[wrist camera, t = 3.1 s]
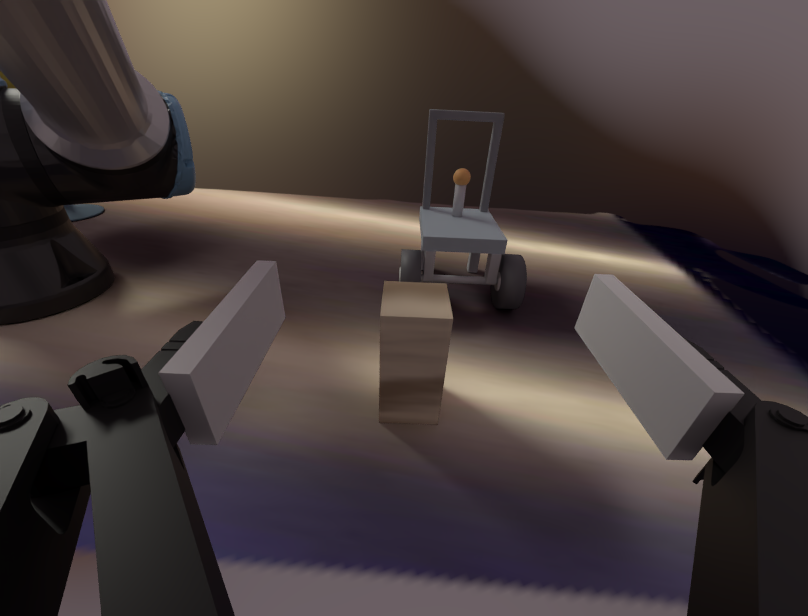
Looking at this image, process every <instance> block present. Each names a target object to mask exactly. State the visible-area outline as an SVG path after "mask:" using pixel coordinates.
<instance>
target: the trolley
mask: <svg viewBox="0 0 808 616" xmlns="http://www.w3.org/2000/svg"><path fill="white" fill-rule="evenodd" d="M437 119H445V120H463V121H482V122H483V121H484V122H494V123H493V129H492V135H491V141H490V147H489V153H488V160H487V166H486V172H485V178H484V184H483V190H482V196H481V202H480V208H479V209H463V205H464V198H465V190H466V184H468V182H469V181H470V173H469V171H468V170H466V169H464V168H461V169H458V170H457V171H456V172H455V174H454V177H453V179H454V182H455V183H456V186H455V194H454V202H453V208H441V207H430V197H431V186H432V174H433V162H434V151H435V138H436V127H437ZM503 121H504V113H492V112H491V113H490V112H473V111H454V110H453V111H452V110H435V109H430V112H429V124H428V138H427V151H426V166H425V179H424V193H423V206H422V207H420V218H419V219H420V230H421V250H403V249H402V253H401V268H400V273H399V282H419V283H421V282H436V283H459V284H482V285H491V298H492V303H493V305H494V307H495V308H499V309H517V308H519V307H520V305H521V303H522V301H523V298H524V295H525V290H526V280H527V273H526V265H525V261H524V259H523V257H522V256H521V255H513V254H505V249H506V245H507V239H506V237H505V236H504V234H503V233H502V231H501V229H500V228H499V226H498V225H497V223H496V222H495V220H494V219H493V217H492V215H491V214H490V212H489V211H488V206H489V200H490V194H491V188H492V183H493V177H494V171H495V166H496V160H497V155H498V149H499V143H500V137H501V132H502V126H503ZM436 251H444V252H466V253H469V258H468V264H467V270H468V272H474V273H477V270H478V264H479V258H480V253H488V258H487V264H486V269H485V274H484V277H477V276H454V275H433V274H434V264H435V254H436ZM421 270H423V274H421Z"/></svg>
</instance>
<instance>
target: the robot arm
mask: <svg viewBox="0 0 808 616" xmlns="http://www.w3.org/2000/svg"><path fill="white" fill-rule="evenodd" d="M0 71H1V72H2V73H3V74H4V75H5V76H6V77H7V79H8V80H9V81H10V82H11V83H12V84H13V85H14V86H15V87H16V88H7V87H8V86H7V83H6V81H4V80H3V79H2V78H1V77H0V324H9V323H16V322H22V321H27V320H32V319H37V318H41V317H45V316H48V315H52V314H55V313H58V312H61V311H64V310H67V309H70V308H73V307H75V306H78V305H80V304H82V303H84V302H87V301H89V300H91V299H92V298H94V297H96V296H98V295H99V294H101V293H102V292H104V291H105V290H106V289H107V288H109V287H110V285H111V284H112V283H113V281H114V278H115V276H114V273H113V271H112V269H111V266H110V264H109V262H108V260H107V259H106V258H105V257H104V256H103V255H102V254H101V253H100V252H99V251H98V250H97V249H96V247H95V246H94V245H93V244H92V243H91V242H90V241H89V240H88V239H87V238H86V237H85V236H84V235H83V234H82V233H81V232H80V231H79V230H78V229H77V228H76V227H75V226H74V225H73V223H72V222H71V220H70V218H69V216H68V214H67V212H66V210H65V208H64V206H63V205H73V204H74V205H75V204H84V203H97V202H110V201H123V200H136V199H149V198H163V199H168V198H171V197H173V196H180V195H186V194H189V193H191V192H192V191H193V190H194V188H195V182H196V177H195V167H194V162H193V155H192V147H191V142H190V137H189V133H188V129H187V125H186V121H185V117H184V114H183V111H182V108H181V106H180V104H179V102H178V100H177V99H176V98H175V97H174V96H173V95H171V94H168V93H163V92H161V91H157V90H156V89H155V87H154V86H153V85H152V84H151V83H150V82H149V81H148V80H147V79H146V78H145V77H143V76H142V75H141V74H140V73H138V72H137V71H135V70H134V67H133V65H132V63H131V60H130V58H129V55H128V53H127V50H126V48H125V45H124V43H123V40H122V38H121V35H120V33H119V31H118V28H117V26H116V23H115V21H114V18H113V16H112V13H111V11H110V9H109V6H108V3H107V1H106V0H0ZM284 319H285V311H284V305H283V299H282V294H281V288H280V282H279V276H278V270H277V264H276V261H256V262H255V263H254V265H253V266H252V267H251V268H250V269H249V270H248V271H247V273H246V274H245V275H244V276H243V277H242V278H241V279H240V281H239V282H238V283H237V284H236V285H235V286H234V287H233V289H232V290H231V291H230V292H229V293H228V294H227V295H226V297H225V298H224V299H223V300H222V301H221V302H220V303H219V304H218V306H217V307H216V308H215V309H214V310H213V311H212V312H211V314H210V315H209V316H208V317H207V318H206V319H205V320H204V321H193V322H191V323H190V324H188V325H186V326H185V327H183V328H181V329H180V330H178V332H177V333H176V334H175V335H174V336H173V337H172V338H171V339H170V340H169V342H167V343H166V344H165V345H164V346H163V347H162V348H161V351H159V352H158V353H157V354H156V355H155V356H154V357H153V358H152V359H151V360H150V361H149V362H148V363H147V364H146V365H145V366H144V367H143V368H142V369H141V368H140V366H139V364H138V362H137V361H136V360H135V359H134V357H130V356H127V355H116V356H110V357H106V358H102V359H99V360H97V361H94V362H92V363H89V364H87V365H86V366H84V367H83V368H81V369H79V370H78V371H77V372H76V373H75V374H74V375H73V376H72V377H71V378H70V380H69V383H68V387H69V388H70V390H71V391H72V393H73V394H74V396H75V398H76V399H77V401H78V402H79V404H80V405H78V406H73V407H68V408H63V409H57V410H53V409H52V407H51V406H50V405H49V403H48V402H47V401H46V400H45V399H43V398H37V397H32V398H24V399H19V400H16V401H13V402H10V403H7V404H4V405H2V406H0V616H58V612H59V608H60V605H61V601H62V597H63V593H64V590H65V586H66V582H67V578H68V575H69V571H70V567H71V564H72V560H73V556H74V552H75V549H76V545H77V541H78V537H79V534H80V530H81V526H82V522H83V519H84V515H85V511H86V508H87V504H88V500H89V496H90V493H91V499H92V510H93V522H94V534H95V545H96V557H97V569H98V581H99V592H100V604H101V616H235V615H234V612H233V609H232V606H231V603H230V600H229V597H228V594H227V591H226V588H225V585H224V582H223V578H222V576H221V572H220V569H219V566H218V563H217V560H216V557H215V554H214V551H213V548H212V545H211V542H210V539H209V536H208V533H207V530H206V527H205V524H204V521H203V518H202V515H201V512H200V509H199V506H198V503H197V500H196V497H195V494H194V491H193V488H192V485H191V482H190V479H189V476H188V473H187V470H186V467H185V464H184V461H183V458H182V455H181V452H180V449H179V447H178V445H177V442H178V440H179V439H180V437H181V436H182V434H183V433H184V431H185V433H186V435H187V437H188V440H189V442H190V444H201V445H218V443H219V441H220V439H221V437H222V435H223V433H224V432H225V430H226V428H227V426H228V424H229V422H230V420H231V419H232V417H233V415H234V413H235V411H236V409H237V407H238V405H239V404H240V402H241V400H242V398H243V396H244V394H245V392H246V390H247V389H248V387H249V385H250V383H251V381H252V379H253V377H254V375H255V374H256V372H257V370H258V368H259V366H260V364H261V362H262V360H263V359H264V357H265V355H266V353H267V351H268V349H269V347H270V346H271V344H272V342H273V340H274V338H275V336H276V334H277V332H278V331H279V329H280V327H281V325H282V323H283V321H284ZM575 330H576V331H577V333H578V334H579V335H580V337H581V338H582V340H583V341H584V343H585V344H586V345H587V347H588V348H589V350H590V351H591V353H592V354H593V355H594V357H595V358H596V360H597V361H598V363H599V364H600V365H601V367H602V368H603V370H604V371H605V373H606V374H607V375H608V377H609V378H610V380H611V381H612V383H613V384H614V385H615V387H616V388H617V390H618V391H619V393H620V394H621V395H622V397H623V398H624V400H625V401H626V403H627V404H628V405H629V407H630V408H631V410H632V411H633V413H634V414H635V415H636V417H637V418H638V420H639V421H640V423H641V424H642V425H643V427H644V428H645V430H646V431H647V433H648V434H649V435H650V437H651V438H652V440H653V441H654V443H655V444H656V445H657V447H658V448H659V450H660V451H661V453H662V454H663V455H664V457H665V458H666V460H693V458H694V457H695V456H696V455H697V453H698V452H699V451H700V450H701V448H702V447H704V449H705V450H706V451H707V452H708V453H709V455H710V456H711V457H712V458H711V459H710V460H709V461H708V462H707V464H706V465H705V466H704V467H703V468H702V470H701V471H700V472H699V473H698V474H697V476H696V477H695V478H694V480H693V482H694V483H695V484H698V482H699V481H700V480H704V481H703V489H702V497H701V505H700V514H699V522H698V530H697V538H696V546H695V554H694V563H693V571H692V579H691V587H690V595H689V603H688V611H687V616H808V417H807V416H806V415H804V414H802V413H801V412H799V411H797V410H795V409H793V408H791V407H788V406H786V405H783V404H780V403H776V402H771V401H761V400H760V399H759V398H758V397H757V396H756V395H755V394H753V393H752V392H751V391H750V390H749V389H748V388H747V387H745V386H744V385H743V384H742V383H741V382H740V381H739V380H738V379H736V378H735V377H734V376H733V375H732V374H731V373H730V372H728V371H727V370H724V367H723V366H722V365H720V364H719V363H718V362H717V361H714V358H712V357H711V356H710V355H709V354H708V353H707V352H706V351H705V350H703V349H702V348H701V347H699V346H697V345H696V344H694V343H692V342H690V341H689V340H687V339H685V338H683V337H681V336H680V335H679V334H678V333H677V332H676V331H675V330H674V329H673V328H671V327H670V326H669V325H668V324H667V323H666V322H665V321H664V320H663V319H661V318H660V317H659V316H658V315H657V314H656V313H655V312H654V311H653V310H651V309H650V308H649V307H648V306H647V305H646V304H645V303H644V302H643V301H641V300H640V299H639V298H638V297H637V296H636V295H635V294H634V293H633V292H632V291H630V290H629V289H628V288H627V287H626V286H625V285H624V284H623V283H622V282H620V281H619V280H618V279H617V278H616V277H615V276H614V275H608V274H594V277H593V279H592V282H591V285H590V288H589V290H588V293H587V296H586V298H585V301H584V304H583V306H582V309H581V312H580V315H579V317H578V320H577V323H576V325H575Z"/></svg>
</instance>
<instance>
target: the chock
mask: <svg viewBox="0 0 808 616" xmlns="http://www.w3.org/2000/svg"><path fill="white" fill-rule="evenodd" d="M452 324H453V315H452V310H451V305H450V299H449V294H448V289H447V284H442V283H419V282H397V281H384V288H383V296H382V305H381V313H380V388H379V423H403V424H430V425H438V419H439V412H440V405H441V399H442V392H443V385H444V378H445V372H446V365H447V358H448V351H449V345H450V338H451V331H452Z"/></svg>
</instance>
